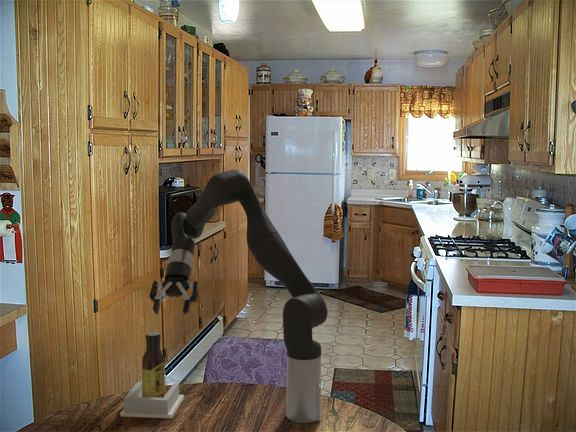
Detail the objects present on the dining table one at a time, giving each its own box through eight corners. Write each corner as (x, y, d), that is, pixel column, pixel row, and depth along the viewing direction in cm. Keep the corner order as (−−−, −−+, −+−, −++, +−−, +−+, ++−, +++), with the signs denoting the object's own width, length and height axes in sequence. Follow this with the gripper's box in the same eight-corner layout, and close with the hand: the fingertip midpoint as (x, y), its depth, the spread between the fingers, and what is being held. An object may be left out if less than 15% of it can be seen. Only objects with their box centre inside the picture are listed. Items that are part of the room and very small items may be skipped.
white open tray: (184, 398, 169) (183, 381, 168) (171, 418, 156) (171, 400, 156) (136, 396, 170) (136, 379, 170) (120, 416, 157) (119, 398, 157)
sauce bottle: (159, 409, 159) (158, 338, 157) (138, 407, 161) (136, 336, 158) (169, 399, 166) (167, 331, 164) (148, 397, 167) (147, 329, 165)
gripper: (154, 260, 180) (143, 306, 170) (199, 260, 179) (191, 306, 169) (159, 273, 186) (149, 319, 176) (204, 274, 185) (196, 319, 174)
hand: (170, 313), depth 172 cm, fingers open, 8 cm apart
